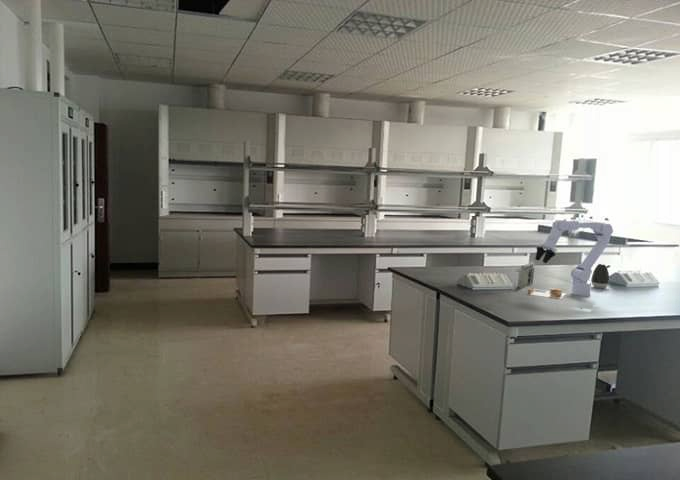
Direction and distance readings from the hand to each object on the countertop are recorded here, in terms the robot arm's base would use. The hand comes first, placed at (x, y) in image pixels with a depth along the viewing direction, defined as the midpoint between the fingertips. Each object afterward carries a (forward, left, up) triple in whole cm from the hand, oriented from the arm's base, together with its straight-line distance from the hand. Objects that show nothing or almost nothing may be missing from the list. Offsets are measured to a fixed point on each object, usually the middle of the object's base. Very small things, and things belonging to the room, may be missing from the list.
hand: (540, 261), depth 295 cm
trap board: (-4, -3, -20) cm, 20 cm away
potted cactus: (-26, -54, -20) cm, 64 cm away
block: (-10, +1, -18) cm, 21 cm away
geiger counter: (+13, -29, -20) cm, 38 cm away
